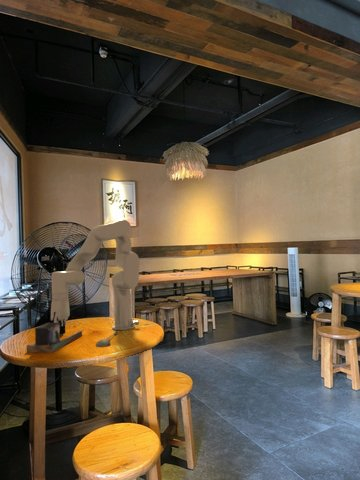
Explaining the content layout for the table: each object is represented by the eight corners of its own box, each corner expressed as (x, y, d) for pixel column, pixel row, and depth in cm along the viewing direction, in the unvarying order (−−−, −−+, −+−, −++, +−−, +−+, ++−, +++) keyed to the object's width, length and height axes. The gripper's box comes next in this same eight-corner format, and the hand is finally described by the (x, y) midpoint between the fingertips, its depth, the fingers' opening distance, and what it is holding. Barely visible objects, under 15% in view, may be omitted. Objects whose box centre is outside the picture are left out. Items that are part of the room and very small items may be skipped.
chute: (82, 335, 166) (81, 329, 166) (50, 352, 139) (50, 345, 139) (61, 335, 168) (61, 329, 168) (26, 352, 141) (26, 345, 141)
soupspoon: (93, 349, 145) (107, 350, 144) (93, 342, 145) (107, 343, 144) (110, 334, 167) (122, 335, 166) (110, 328, 166) (122, 328, 166)
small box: (48, 351, 141) (47, 327, 141) (34, 351, 142) (33, 327, 142) (61, 344, 151) (60, 322, 151) (48, 344, 152) (47, 322, 152)
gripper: (61, 294, 166) (62, 329, 166) (44, 299, 151) (45, 338, 151) (75, 294, 165) (76, 329, 164) (59, 298, 150) (60, 338, 150)
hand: (61, 333), depth 158 cm, fingers closed
